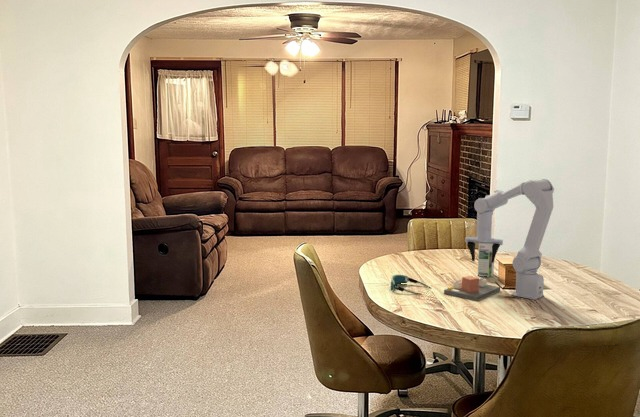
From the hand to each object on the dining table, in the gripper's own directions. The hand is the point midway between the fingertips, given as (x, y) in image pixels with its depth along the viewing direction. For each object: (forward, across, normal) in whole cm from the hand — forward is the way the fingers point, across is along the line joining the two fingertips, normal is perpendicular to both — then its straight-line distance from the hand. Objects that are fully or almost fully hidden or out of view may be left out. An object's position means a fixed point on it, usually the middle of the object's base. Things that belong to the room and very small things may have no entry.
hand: (483, 261), depth 245 cm
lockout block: (+8, -2, -17) cm, 19 cm away
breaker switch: (+8, +1, -9) cm, 12 cm away
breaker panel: (+9, -2, -14) cm, 17 cm away
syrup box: (+10, -1, +15) cm, 18 cm away
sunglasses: (+10, -25, -19) cm, 33 cm away
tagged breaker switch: (+8, -7, -16) cm, 19 cm away
